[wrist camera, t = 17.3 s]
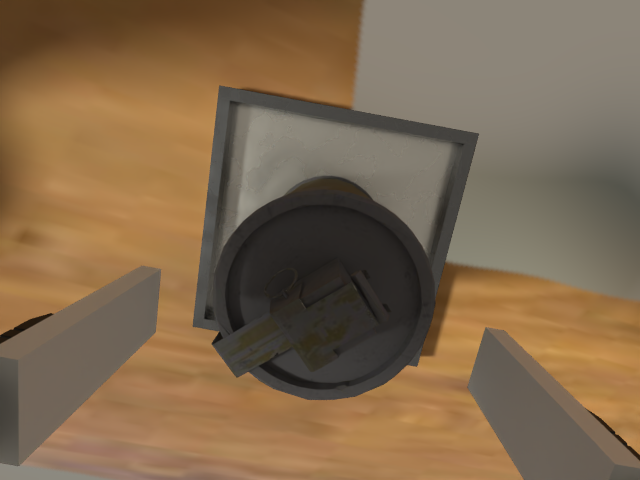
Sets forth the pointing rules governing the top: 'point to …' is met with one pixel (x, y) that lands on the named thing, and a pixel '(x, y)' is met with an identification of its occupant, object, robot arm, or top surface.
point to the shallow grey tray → (328, 171)
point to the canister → (322, 292)
